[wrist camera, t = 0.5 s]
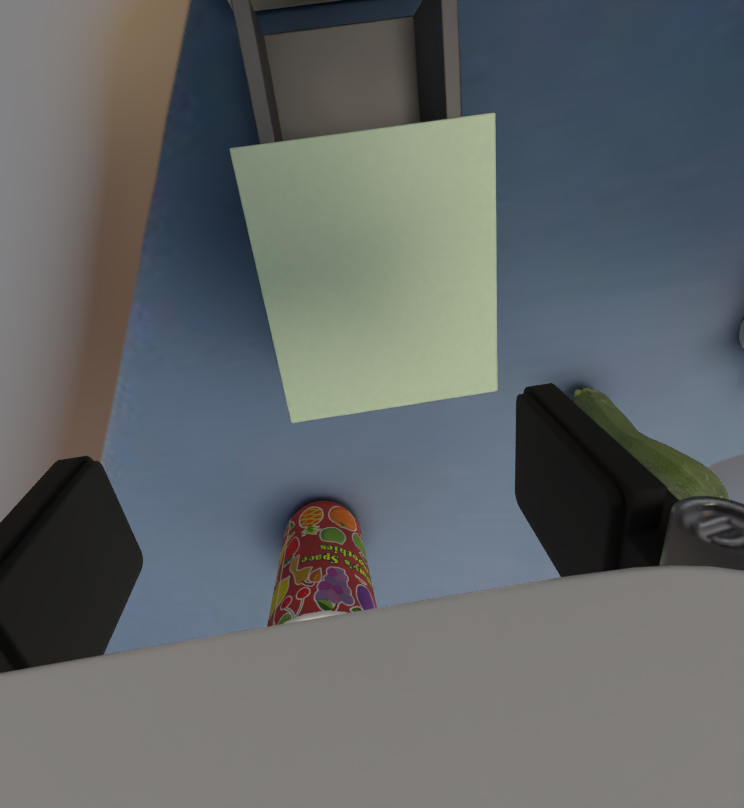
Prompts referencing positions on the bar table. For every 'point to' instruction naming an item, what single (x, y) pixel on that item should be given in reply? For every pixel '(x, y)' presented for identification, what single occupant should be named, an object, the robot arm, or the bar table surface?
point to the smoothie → (321, 566)
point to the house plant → (741, 334)
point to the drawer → (350, 71)
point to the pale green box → (377, 262)
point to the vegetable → (651, 450)
